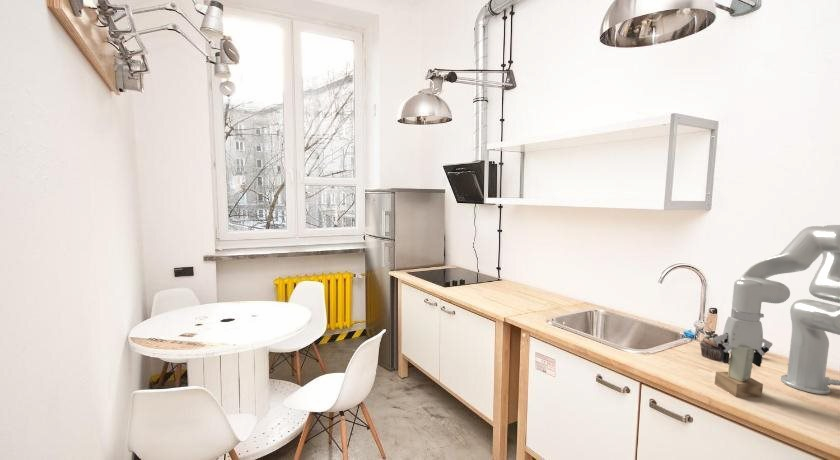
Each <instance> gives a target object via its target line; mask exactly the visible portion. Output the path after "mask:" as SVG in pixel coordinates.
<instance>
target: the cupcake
mask: <svg viewBox="0 0 840 460" xmlns="http://www.w3.org/2000/svg"><path fill="white" fill-rule="evenodd" d="M717 336H719V335H718V334H717V333H714V334H711V333H705V334H704V335H703V338H702V341H701V342H699V346H700V351H701V352H700V354H701V356H702V357H703V358H705V359H708V360H712V361H716V362H723V361H722V360H721V349H720V348H719V347H718V346H717V345H716V342H715V340H714V337H717ZM721 344H722V345H723V344H724V342H723V341H722V340H721Z"/></svg>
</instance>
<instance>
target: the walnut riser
mask: <svg viewBox="0 0 840 460" xmlns="http://www.w3.org/2000/svg"><path fill="white" fill-rule="evenodd" d="M714 385H715V386H717V387H719V388H720V389H722V390H723V391H725V392H726V393H728V392H729V393H728V394H730V395H731V396H734V397H735V398H762V397H763V386H764V384H763V383H761V382H759V381H758V380H756V379H754V378H752V377H750V378H749V379H747V380H745V381H742V382H741V381H739V380H736V379H734V378H731V377H729V376H728V371H715V375H714Z"/></svg>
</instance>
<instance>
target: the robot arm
mask: <svg viewBox="0 0 840 460" xmlns="http://www.w3.org/2000/svg"><path fill="white" fill-rule="evenodd" d="M821 255H822V261H821V263H820V265H819V267H818V269H817V271H816V272H815V274H814V277H813V278H812V280H811V282H810V284H809V287H808V290H809V293H810V295H812V296H813V297H815V298H817V299H819V300H824V301H828V302H832V303H837V304H840V224H829V225H828V224H827V225H822V226H821V225H816V226H815V225H813V226H811V225H810V226H808V227H805V228H803V229H801V230H800V232H799V233H798V234H797V235H796V236H795V237H794V238H793V239H792V240H791V241H790V243H788V244H787V245H786V246H785V248H784V249H783V250H781V252H779V254H776V255H773V256H770V257H768V258H765V259H764V260H760V261H759V262H757V263H754V264H752V265H751V266H750V267H749V268H748V269H747V270H746V271H745V272H744V273H743V274H742V275H741V276H740V278H739V279H736V280H735V281H734V284H733V290H732V292H733V293H732V303H731V311H730V312H731V313H730V316H728V317H727V318H726V322H725V324H724V328H723V333H722V334H720V335H718V336H717V337H714V340H715V342H716V345H717V346H718V347H719V348H720V349H721V360H722V361H721V362H722V363H724V364H726V365H727V364H728V365H729V362H730V356H731V353H730V352H728V351H729V350H730V349H732V348H738V346H743V347H751V349H752V350H754V357H753V363H752V365H755V366H757V367H758V368H760V367H761V365H762V363H763V356H765V354H766V353H768V352H769V351H770V349H771V348H772V346H773V342H771V341H769V340H767V339H765V338H764V331H763V323H762V321H761V318H764V317H765V316H764V313H761V311H762V310H761V309H762V303H768V304H769V303H770V304H782V303H784V302H786V301H788V300H789V298H790V296H791V291H790V288H789V287H788V286H787V285H786V284H784V283H782V282H779V281H776V280H770V279H768V278H770V277H774V276H776V275H782V274H791V273H796V272H798V273H799V272H803V271H806V270H808V269H809V268H811V266H812V265H813V263H815V262H816V260H817V259H818V258H819V257H820V256H821ZM819 300H814V299H807V298H806V299H805V298H804V299H798V300H796V301H794V302H793V303H792V304H791V306H790V310H789V311H790V312H789V313H790V320H791V337H790V338H791V339H790V346H789V354H788V355H789V356H788V364H787V374H784V375H781V376H780V381H781V382H782V383H784V384H785V385H786V386H789V387H791V388H794V389H797V390H800V391H804V392H806V393H810V394H817V395H828V394H830V393H831V388H830V387H829V386H840V380H839V379H831V378H830V377H829V376H826V373H827V365H828V358H829V357H828V356H829V348H830V341H829V337H828V335H827V333H831V334H834V335H838V336H840V306H839V305H835V304H831V303H827V302H824V301H819ZM721 340H722V341H723V342H724V344H723V345H722V344H721ZM763 344H764V345H763Z"/></svg>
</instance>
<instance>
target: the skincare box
mask: <svg viewBox="0 0 840 460" xmlns="http://www.w3.org/2000/svg"><path fill="white" fill-rule="evenodd" d="M754 352H755V350H752V349H751V347H743V346H738V348H732V349H731V353H730V355H729V363H728V370H727V372H728V376H729V377H731V378H734V379H736V380H739V381H741V382H742V381H745V380H747V379H749V378H751V377H752V376H751V375H752V369H753V357H754Z"/></svg>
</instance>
